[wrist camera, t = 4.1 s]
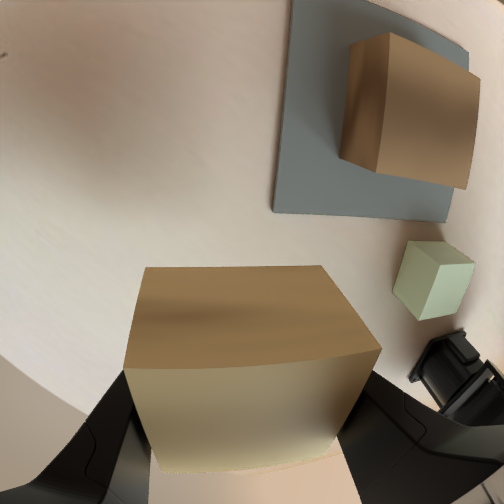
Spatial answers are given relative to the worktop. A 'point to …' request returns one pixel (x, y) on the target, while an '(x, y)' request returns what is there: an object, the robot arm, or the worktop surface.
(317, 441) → the oak brick
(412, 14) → the worktop surface
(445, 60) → the walnut base brick
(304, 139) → the build mat
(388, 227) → the worktop surface
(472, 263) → the sage brick
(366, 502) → the robot arm
